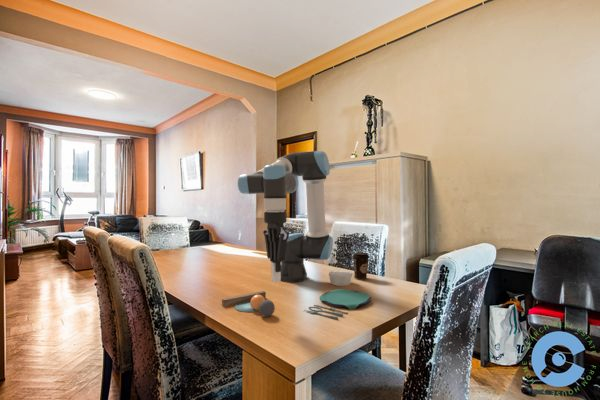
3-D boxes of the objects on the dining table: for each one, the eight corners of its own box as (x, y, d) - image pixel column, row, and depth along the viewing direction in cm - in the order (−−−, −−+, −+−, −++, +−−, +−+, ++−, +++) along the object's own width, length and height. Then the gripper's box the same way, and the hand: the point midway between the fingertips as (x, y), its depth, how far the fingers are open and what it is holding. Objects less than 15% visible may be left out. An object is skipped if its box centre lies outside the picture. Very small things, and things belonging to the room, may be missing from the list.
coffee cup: (371, 277, 160) (371, 252, 160) (366, 281, 153) (366, 255, 153) (356, 275, 165) (355, 251, 165) (349, 279, 158) (349, 253, 158)
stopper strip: (265, 297, 128) (265, 291, 128) (224, 306, 117) (224, 300, 117) (263, 296, 129) (263, 290, 129) (222, 305, 119) (222, 298, 119)
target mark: (266, 299, 126) (266, 298, 126) (271, 310, 113) (271, 309, 113) (233, 302, 122) (233, 301, 122) (235, 313, 110) (235, 313, 110)
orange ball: (266, 309, 116) (262, 295, 118) (267, 305, 111) (263, 290, 114) (252, 314, 114) (248, 299, 116) (252, 309, 109) (248, 295, 112)
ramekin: (324, 282, 152) (324, 271, 152) (344, 279, 157) (344, 269, 157) (336, 288, 142) (336, 276, 142) (356, 285, 147) (356, 274, 147)
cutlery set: (378, 299, 126) (378, 294, 126) (341, 324, 102) (341, 317, 102) (336, 291, 138) (336, 286, 138) (294, 311, 114) (294, 305, 114)
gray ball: (279, 304, 108) (275, 314, 110) (268, 294, 110) (264, 304, 112) (269, 312, 103) (265, 322, 106) (258, 301, 105) (253, 312, 108)
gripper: (295, 211, 100) (296, 283, 101) (274, 210, 111) (275, 275, 111) (275, 212, 96) (276, 287, 96) (256, 210, 106) (257, 278, 107)
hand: (276, 280), depth 104 cm, fingers closed
